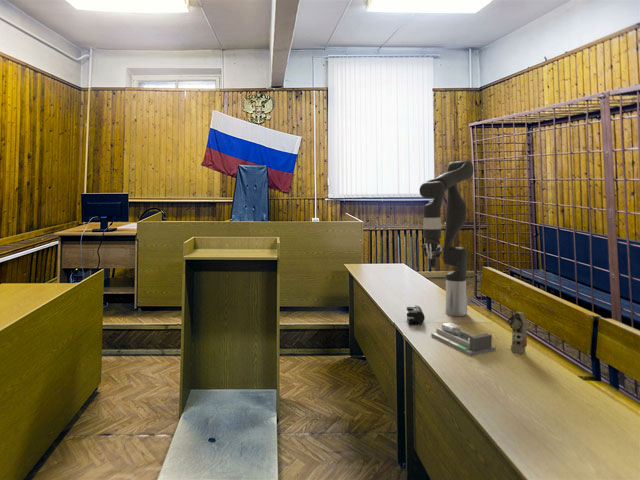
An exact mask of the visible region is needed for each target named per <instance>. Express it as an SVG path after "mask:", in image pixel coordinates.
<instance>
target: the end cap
mask: <svg viewBox="0 0 640 480" xmlns="http://www.w3.org/2000/svg"><path fill="white" fill-rule="evenodd" d="M406 311H407V313H406V321H407V324H408V326H420V325H421V324H423V323H424V322H425V318H426V317H425V314H424V311H423V310H422V308H421V307H420V306H419V305H414V306H406Z"/></svg>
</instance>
